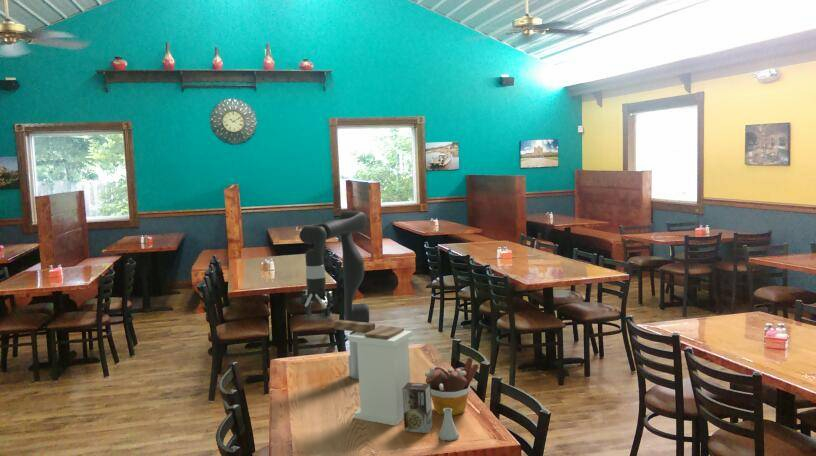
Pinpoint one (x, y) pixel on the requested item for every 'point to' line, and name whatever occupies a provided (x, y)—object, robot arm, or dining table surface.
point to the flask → (448, 427)
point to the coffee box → (417, 407)
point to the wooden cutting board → (368, 328)
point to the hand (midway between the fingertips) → (318, 316)
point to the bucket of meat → (450, 387)
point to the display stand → (382, 376)
